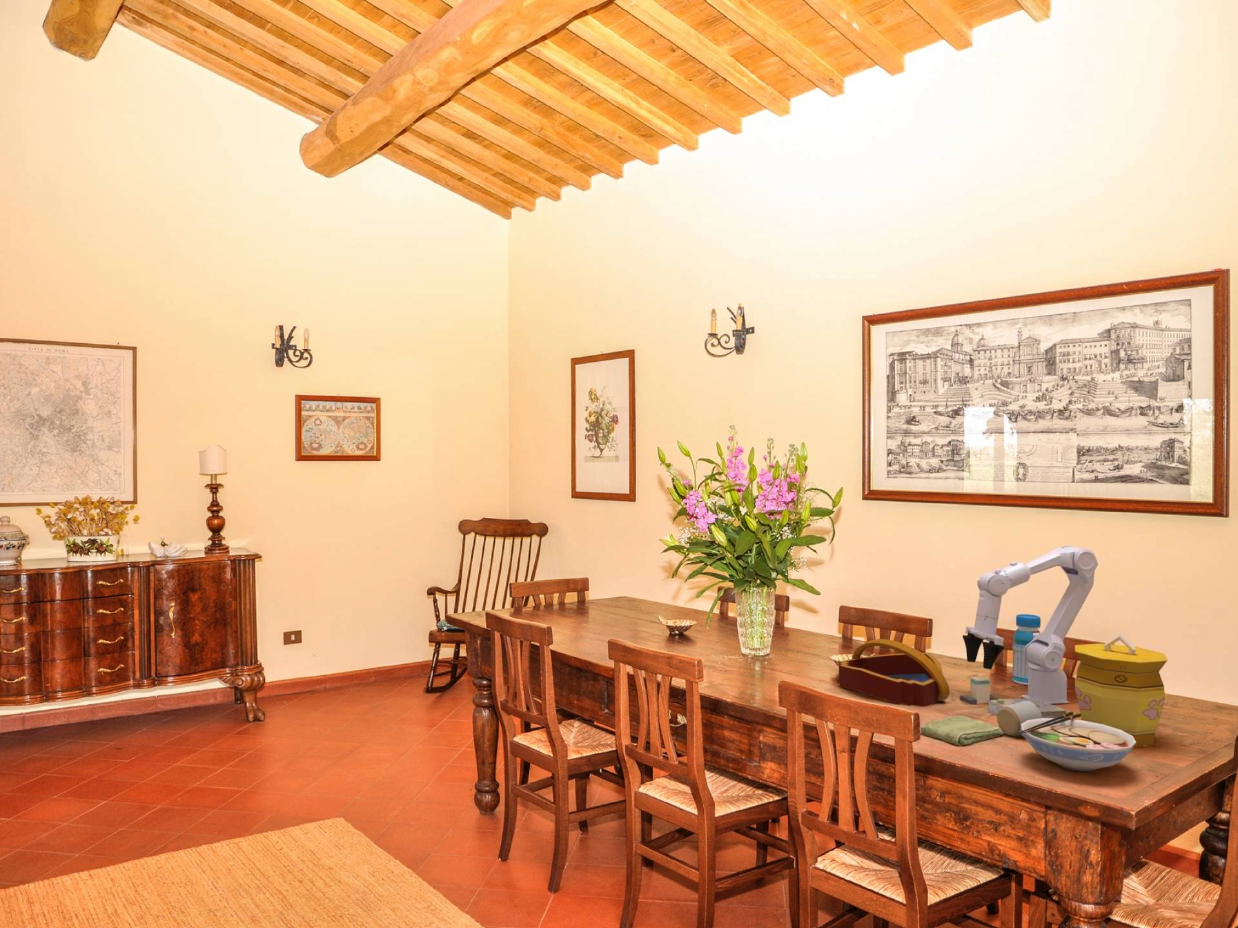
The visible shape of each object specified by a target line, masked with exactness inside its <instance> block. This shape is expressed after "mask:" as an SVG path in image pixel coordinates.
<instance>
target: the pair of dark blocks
mask: <svg viewBox="0 0 1238 928" xmlns="http://www.w3.org/2000/svg"><path fill="white" fill-rule="evenodd" d="M996 699H1000V698H999V697H997V696H995V695H992V694H990V700H996ZM959 701H962V702H964V703H966V704H968V705H978V703H977V700H976V699H974V698H972V697H970V696H969V695H967V694H963V695H960V696H959Z"/></svg>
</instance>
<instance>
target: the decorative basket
mask: <svg viewBox="0 0 1238 928" xmlns="http://www.w3.org/2000/svg"><path fill="white" fill-rule="evenodd" d="M871 647H879V648H886V649H889V650H893V651H896V652H899V653H892V654H880V655H870V656H869V655H868V656H862V655H863V653H864V652H865V650H866V649H867V648H871ZM838 682H839V687H842V688H845V689H849V690H852V691H857V692H862V693H863V694H866V695H869V696H872V697H875V698H877V699H881V700H883V701H887V702H890V703H893V704H896V703H897V705H901V704H904V705H906V706H910V705H912V706H917V705H918V706H917V707H922V708H926V707H929V706H931V705H933V704H935V703H937V702H941V701H944V700H946V699H948V698H949V696H950V694H951V693H950V687H949V684H948V682H947V678H946V677H945V676H944V674H943V667H942V664H941V662H940V661H939V660H938V659H937V658H936V657H935V656H934V655H933V654H931V653H930V652H921V651H920V650H918V649H916V648H914V647H913V646H910V645H907V644H906V643H902V642H901V641H896V640H892V639H885V638H876V639H871V640H868V641H867V642H865V643H863V644H861V645H859V646H858V647H857V648H856V649H855V650H854V652H853V653H852V656H851V659H845V660H844V659H843V660H841V661H838Z"/></svg>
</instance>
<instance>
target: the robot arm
mask: <svg viewBox="0 0 1238 928" xmlns="http://www.w3.org/2000/svg"><path fill="white" fill-rule="evenodd" d="M1009 564H1010V565H1008V566H1004V567H1003V568H996V569H995V570H994V572H985V573H982V575H981V576H980V578H979V580H977V581H976V583H977V588H978V591H979V593H978V594H979V597H978V603H977V607H976V609H977V610H976V615H975V621H974V625H973V627H972V626H966V627H965V632H964V633H965V634H962V639H963V642H964V645H965V651H966V661H967V662H969V663H976V661H977V658H978V655H979V650H980V648H981V646H982V648H983V662H982V666H983V669H986V670H987V669H988V670H992V668H993V666H994V665H995V663H996V660H997V658H998V656H999V655H1000V654H1001V653H1002V652H1003V650H1004V649H1005V646H1004V640H1005V638H1004V637H1001V636H999V635H998V634H997V630H998V623H999V617H1000V611H1001V604H1002V598H1003V596H1005V594H1007V592H1008V590H1010V589H1012V588H1014V587H1017V586H1020V585H1022V584H1025V583H1026V582H1029V581H1030V578H1031V576H1032V575H1035V574H1038V573H1041V572H1044V571H1046V570H1049V569H1052V568H1055V567H1060V568H1061V569H1062V571H1063V572H1064V574H1065V575H1066V576H1067V580H1068V581H1069V584H1068V586H1067V587H1066V589H1065V591H1064V592H1063V595H1062V597H1060V600H1059V602H1058V604H1057V606H1056V607H1055V609H1054V611H1053V613H1052V615H1051V617H1050V619H1049V620H1048V622H1047V623H1046V626H1045V628H1044V629H1043V631H1041V632H1040V633H1039V634H1038V635H1036V636H1035V637H1034V639H1033V640H1032V641H1031V642H1030V643H1028V644H1027V645H1026V647H1025V649H1024V656H1025V659H1026V660H1027V661H1028V666H1029V674H1028V685H1027V694H1022V695H1021V696H1020V697H1021V699H1025V698H1037V699H1039V700H1042V701H1044V702H1047V703H1049V704H1052V705H1054V704H1055V705H1056V704H1069V700H1067V698H1068V697H1067V696H1068V695H1067V694H1068V693H1067V691H1068V679H1067V678H1068V677H1067V674H1066V673H1065V671H1064V670H1063V669H1062V668H1060V667H1061V666H1062V664H1063V661H1064V654H1065V653H1066V646H1065V644H1064V640H1065V638H1067V637H1066V636H1067V635H1068V633H1069V631H1070V629H1071V627H1072V625H1073V623H1075V620H1076V618H1077V616H1078V615H1079V612H1080V611H1081V609H1082V607H1083V606H1084V603H1086V600H1087V597H1088V596H1089V594H1090V593H1091V591H1092V589H1093V586H1094V581H1095V571H1096V569H1097V567H1098V566H1099V562H1098V559H1097V557H1096V555H1095V553H1094V552H1093V550H1091V549H1088V548H1080V547H1076V546H1075V547H1074V546H1071V545H1063V546H1061V547H1057V548H1054V549H1053V550H1051V551H1049V552H1048V553H1046V554H1044V555H1041V556H1039V557H1037V558H1034V559H1033V560H1030V561H1028V562H1026V563H1023V562H1020V561H1012V562H1010V563H1009ZM966 634H967V635H966Z"/></svg>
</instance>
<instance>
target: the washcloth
mask: <svg viewBox="0 0 1238 928" xmlns="http://www.w3.org/2000/svg"><path fill="white" fill-rule="evenodd" d="M920 727H921V733H920V734H922V735H925V736H928V737H931V738H933V739H939V740H941V741H944V742H946V743H950V744H951V745H954V746H958V747H963V746H966V745H973V744H977V743H981V742H982V741H987V740H989V739H993V738H997V737H998V738H999V737H1000V736H1003V735H1004V734H1005V733H1004V732H1003V731H1002V730H1001V728H1000V727H999V726H998V727H997V726H994V725H991V724H989V723H986V722H984V721H983V720H975V719H972V718H970V717H968V716H965V715H959V716H957V715H955V716H953V715H952V716H950V717H945V718H941V719H938V720H931V721H928V722H927V721H926V722H923V724H921V725H920ZM999 728H1000V729H999Z"/></svg>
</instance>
